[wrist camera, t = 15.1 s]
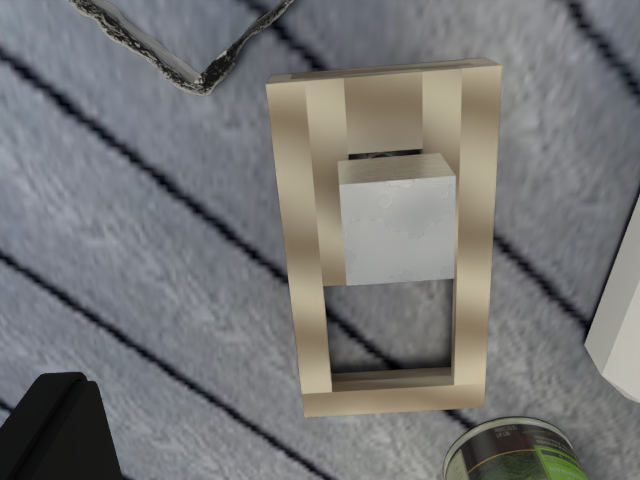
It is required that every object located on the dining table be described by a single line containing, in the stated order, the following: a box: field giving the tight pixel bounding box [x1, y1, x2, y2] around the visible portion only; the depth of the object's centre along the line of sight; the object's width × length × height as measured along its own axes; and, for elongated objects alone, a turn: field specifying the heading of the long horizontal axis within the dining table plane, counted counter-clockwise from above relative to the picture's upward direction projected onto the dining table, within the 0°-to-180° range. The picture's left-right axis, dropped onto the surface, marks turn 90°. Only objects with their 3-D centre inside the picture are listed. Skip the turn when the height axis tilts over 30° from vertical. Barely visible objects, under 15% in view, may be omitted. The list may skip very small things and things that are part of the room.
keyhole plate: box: [266, 58, 502, 417], centre depth 34 cm, size 22×12×3 cm, turn 5°
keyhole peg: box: [337, 149, 456, 286], centre depth 29 cm, size 6×6×10 cm
